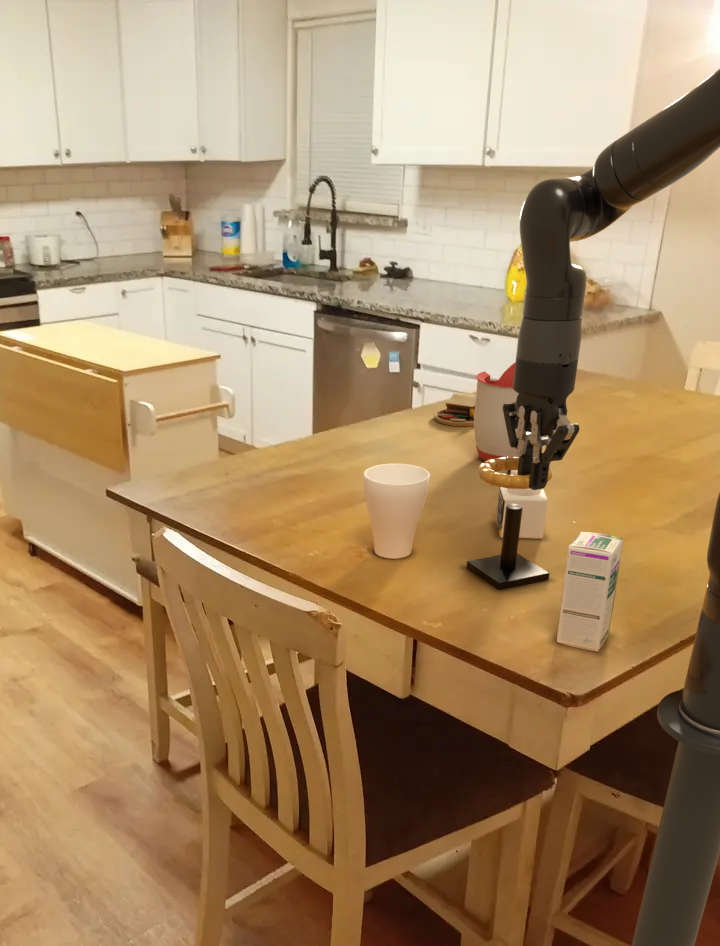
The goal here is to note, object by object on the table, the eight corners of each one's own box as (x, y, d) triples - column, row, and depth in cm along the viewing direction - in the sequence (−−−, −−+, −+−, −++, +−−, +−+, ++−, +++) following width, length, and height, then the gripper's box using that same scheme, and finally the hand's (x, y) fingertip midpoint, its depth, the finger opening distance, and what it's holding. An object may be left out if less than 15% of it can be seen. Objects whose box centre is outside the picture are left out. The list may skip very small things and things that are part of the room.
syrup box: (598, 653, 126) (615, 552, 119) (553, 642, 129) (568, 544, 122) (609, 635, 130) (626, 537, 123) (565, 625, 133) (580, 529, 126)
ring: (565, 484, 128) (567, 471, 127) (504, 494, 125) (506, 481, 124) (522, 464, 136) (523, 451, 135) (464, 473, 133) (465, 461, 132)
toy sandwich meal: (423, 422, 223) (424, 402, 221) (450, 409, 233) (452, 390, 230) (472, 430, 216) (474, 409, 214) (498, 416, 226) (500, 396, 223)
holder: (548, 579, 146) (558, 511, 141) (498, 590, 143) (506, 521, 138) (514, 558, 154) (522, 492, 148) (466, 567, 151) (472, 501, 146)
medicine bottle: (495, 522, 167) (502, 456, 161) (537, 523, 166) (545, 457, 160) (499, 538, 161) (507, 470, 155) (543, 539, 160) (552, 471, 154)
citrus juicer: (514, 441, 208) (524, 348, 198) (562, 464, 193) (575, 365, 184) (451, 450, 204) (458, 355, 194) (494, 474, 189) (505, 373, 180)
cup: (358, 540, 162) (360, 463, 156) (420, 539, 162) (425, 462, 155) (363, 565, 153) (366, 485, 147) (428, 564, 153) (434, 484, 146)
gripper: (490, 346, 123) (478, 474, 132) (557, 368, 112) (539, 506, 120) (538, 341, 126) (523, 467, 134) (609, 361, 114) (588, 497, 123)
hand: (531, 485), depth 127 cm, fingers closed on ring, 2 cm apart
